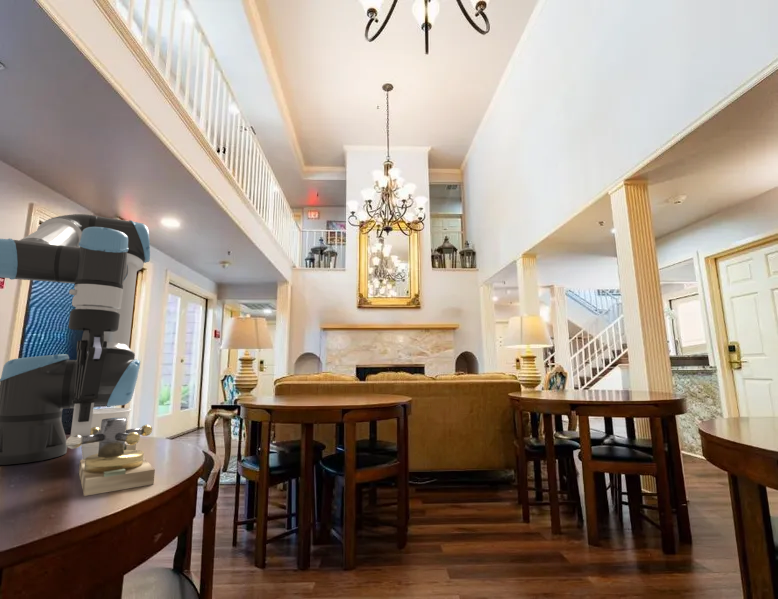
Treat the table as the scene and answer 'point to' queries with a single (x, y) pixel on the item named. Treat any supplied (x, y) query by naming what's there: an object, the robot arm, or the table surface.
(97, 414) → the cup
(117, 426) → the capstan
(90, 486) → the stand
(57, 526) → the table surface
